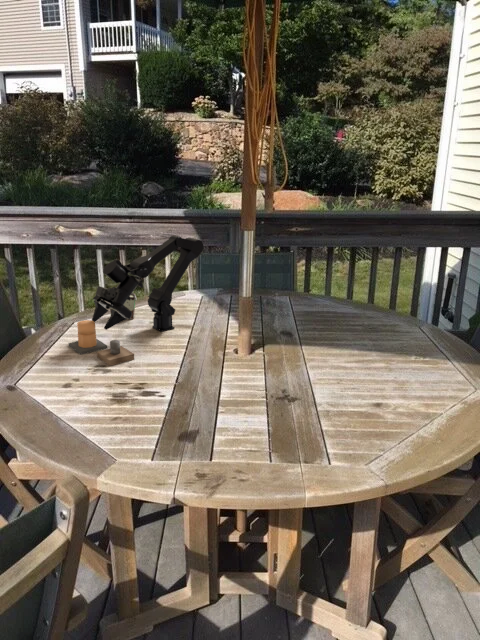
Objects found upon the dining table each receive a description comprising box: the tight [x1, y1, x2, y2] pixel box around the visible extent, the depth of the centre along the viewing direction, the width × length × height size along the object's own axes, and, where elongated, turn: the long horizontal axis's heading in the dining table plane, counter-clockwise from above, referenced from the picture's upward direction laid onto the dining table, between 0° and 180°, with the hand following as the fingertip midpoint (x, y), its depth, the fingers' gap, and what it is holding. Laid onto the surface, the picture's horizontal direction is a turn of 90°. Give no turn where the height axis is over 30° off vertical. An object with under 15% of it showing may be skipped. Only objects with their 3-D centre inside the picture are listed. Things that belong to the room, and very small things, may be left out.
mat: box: [67, 338, 108, 355], centre depth 190 cm, size 10×10×1 cm
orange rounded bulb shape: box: [76, 319, 97, 348], centre depth 188 cm, size 6×6×8 cm
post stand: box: [96, 339, 135, 366], centre depth 180 cm, size 9×9×6 cm
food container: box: [109, 292, 138, 320], centre depth 221 cm, size 12×6×10 cm, turn 84°
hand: (98, 325), depth 191 cm, fingers open, 9 cm apart
